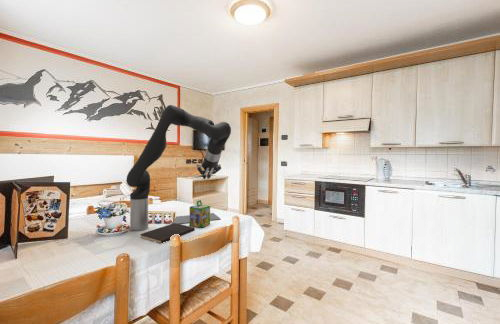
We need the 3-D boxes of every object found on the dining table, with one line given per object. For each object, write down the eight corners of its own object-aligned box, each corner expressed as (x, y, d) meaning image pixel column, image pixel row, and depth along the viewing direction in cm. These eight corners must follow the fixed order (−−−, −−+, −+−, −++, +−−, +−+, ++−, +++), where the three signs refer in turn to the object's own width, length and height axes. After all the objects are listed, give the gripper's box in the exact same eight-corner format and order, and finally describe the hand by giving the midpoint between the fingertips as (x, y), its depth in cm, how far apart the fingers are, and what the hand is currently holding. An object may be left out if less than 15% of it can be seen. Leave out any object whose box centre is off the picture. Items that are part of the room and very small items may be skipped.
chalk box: (201, 228, 140) (201, 203, 140) (188, 226, 144) (189, 201, 144) (210, 224, 149) (211, 200, 148) (198, 222, 153) (198, 198, 152)
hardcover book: (139, 238, 125) (139, 234, 124) (174, 226, 144) (174, 222, 144) (161, 245, 117) (161, 240, 116) (194, 231, 137) (194, 227, 136)
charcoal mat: (172, 225, 146) (172, 224, 146) (169, 218, 160) (169, 217, 160) (220, 219, 158) (220, 218, 158) (213, 213, 173) (213, 212, 173)
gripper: (223, 150, 127) (216, 172, 139) (197, 150, 121) (192, 172, 133) (227, 161, 123) (219, 182, 134) (200, 161, 117) (194, 183, 128)
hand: (205, 177), depth 134 cm, fingers closed
